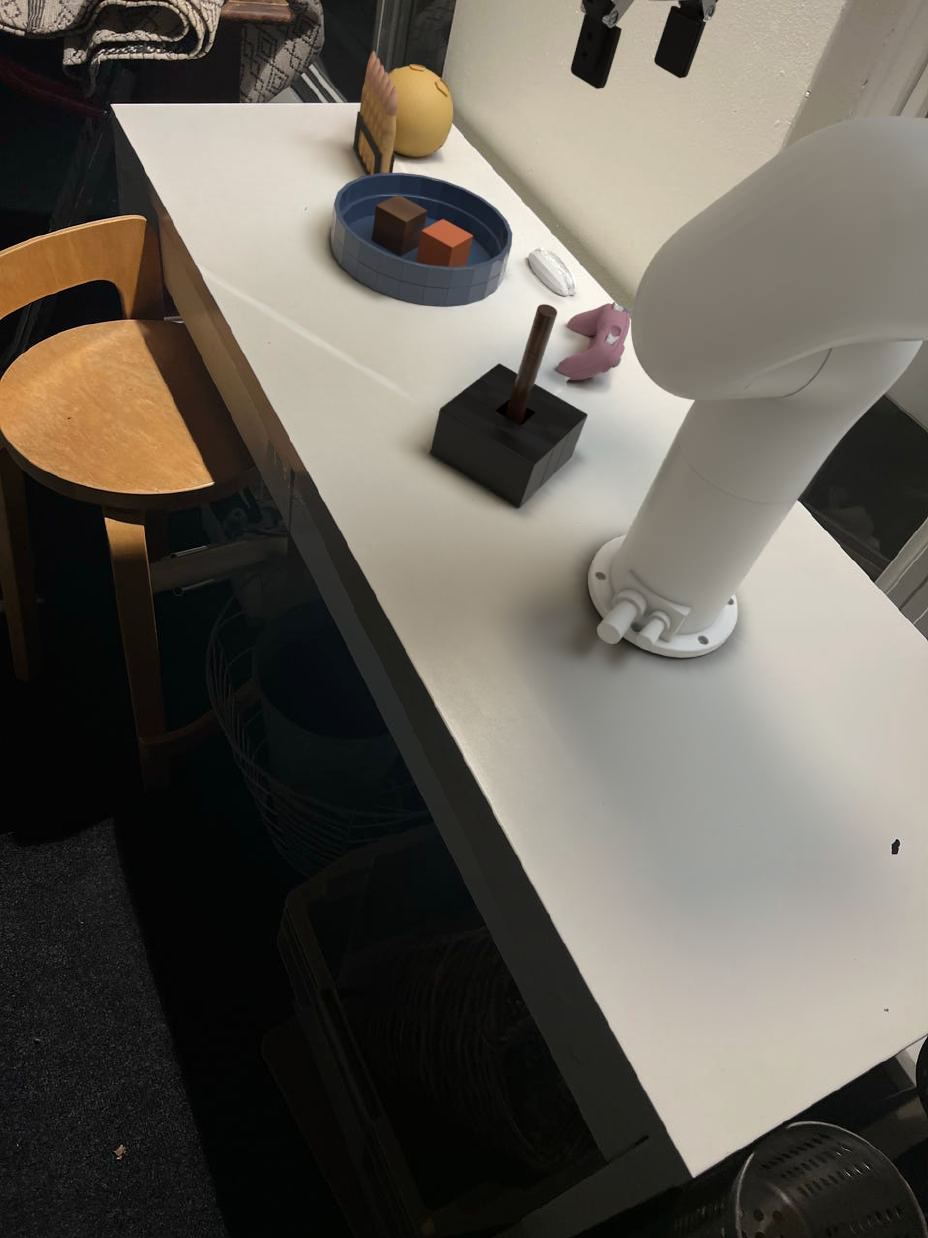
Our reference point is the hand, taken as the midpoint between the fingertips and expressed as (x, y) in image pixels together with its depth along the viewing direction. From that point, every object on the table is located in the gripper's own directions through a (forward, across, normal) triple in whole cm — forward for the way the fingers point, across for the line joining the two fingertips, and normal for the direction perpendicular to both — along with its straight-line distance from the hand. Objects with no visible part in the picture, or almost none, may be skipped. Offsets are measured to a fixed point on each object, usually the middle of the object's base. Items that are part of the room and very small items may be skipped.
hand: (629, 75), depth 69 cm
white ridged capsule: (+28, +14, +12) cm, 33 cm away
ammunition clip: (+27, +8, +39) cm, 48 cm away
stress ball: (+27, +17, +42) cm, 53 cm away
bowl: (+28, +2, +22) cm, 35 cm away
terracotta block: (+27, +3, +19) cm, 33 cm away
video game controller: (+28, +7, 0) cm, 29 cm away
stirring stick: (+28, -11, -7) cm, 31 cm away
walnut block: (+27, +1, +24) cm, 36 cm away
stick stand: (+28, -11, -7) cm, 31 cm away
